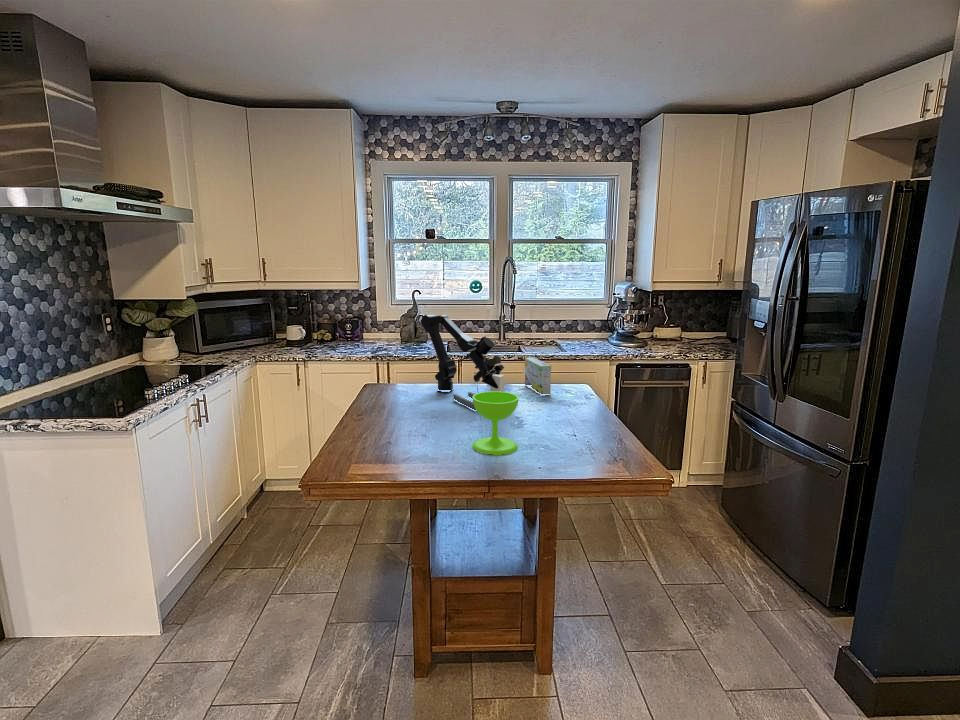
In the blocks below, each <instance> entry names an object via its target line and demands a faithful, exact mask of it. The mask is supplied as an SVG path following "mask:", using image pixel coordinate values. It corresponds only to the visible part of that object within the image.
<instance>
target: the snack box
mask: <svg viewBox="0 0 960 720" xmlns="http://www.w3.org/2000/svg"><path fill="white" fill-rule="evenodd" d="M551 373H552V365H550V364H548V363H546V362H544V361H542V360H540V359H537V358H536V357H535V356H533V357H532V356H531V357H525V358H524V386H525V385H532V386H531V387H532V388H533V389H535V390H536V391H537V392H539V393H541V394H550V395H551V385H552V384H551V383H552V382H551V379H552V374H551Z"/></svg>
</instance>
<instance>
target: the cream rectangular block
mask: <svg viewBox="0 0 960 720" xmlns="http://www.w3.org/2000/svg"><path fill="white" fill-rule="evenodd" d="M492 377H493V379H494V381H495V382H496V384H497V386H498V389H496V388H494V387H492V386H490V391H499V392H505V375H503V374H499V375H497V374H494V375H492Z"/></svg>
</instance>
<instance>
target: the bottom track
mask: <svg viewBox="0 0 960 720" xmlns="http://www.w3.org/2000/svg"><path fill="white" fill-rule="evenodd" d="M475 394H476V393H474V392H471V391H469V392H467V397H468V396H469V397H471V398H472V397H473V395H475ZM465 398H466V397H463V396H461V395H458V394H456V393H454V394H453V400H454V399H455V400H457V401H458V402H460V403H462V404H464V405H466V406H468V407H470V408H472V409H474V410H476V409H475V407H474V404H473V402H471V401H469V400H467V399H465Z"/></svg>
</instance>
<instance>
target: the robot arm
mask: <svg viewBox="0 0 960 720" xmlns="http://www.w3.org/2000/svg"><path fill="white" fill-rule="evenodd" d="M420 323H421V325H422V327H423V329H424V331H426V332H427V333H428V334H429V337H430V339H431V343H432V345H433V348H434V351H435V354H436V357H437V358H438V372H437V373H436V374H435V375H434V377H435V381H437V390H438V389H439V390H452V389H453V390H454V382H453V379H454V378H455V375H456V373H457V371H458V370H457V368H458V366H457V365H456V361H455V359H451V358H450V357H449V356H448V353H447V350H446V346H445V343H444V341H443V339H442V336H441V333H440V330H439V329H440V325H441V326H442V327H443V328H444V330H446V331H447V332H448V333H449V334H450V336H452V338H454V340H455V342H456V345H457V346H458V348H459V349H460V350H461V352H463V353H466V355H465V360H466V361H467V360H471V362H472V363H473V364H474V365H475V366H474V368H475V370H476V369H478V371H477V372H476V374H474V375H473V380H474V382H475V383H478V382H480V379H482V380H481V383H484V384H487V385H489V386H490V387H491V386H492V387H494V388H496V389H498V386H497V384H496V382H495V381H494V379H493V377H492V375H494V374H497V375H501V374H500V373H501V372H502V371H503V370H504V369H505V366H503V364H502V357H501V356H500V355H498V354H497V355H494V356H493V358H491V359H490V358H486V357H485V356H486V355H488V354H489V353H490V352H491V351H492V349H494V347H495V343H494V342H493V340H491V339H490V338H487V336H486V335H485V336H482V337H481V338H480V340H479V341H476V340H475V339H474V338H473V337H472V336H470V335H468V334H466V333H465V332H463V331H462V330H461V329H460V328H459V327H458V326H457V325H456V324H455V322H454V321H452V320H451V319H450V318H449V316H448V315H447V314H442V315H436V314H435V313H433V314H424V315H422V317H421V319H420ZM467 352H469V353H467Z"/></svg>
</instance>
